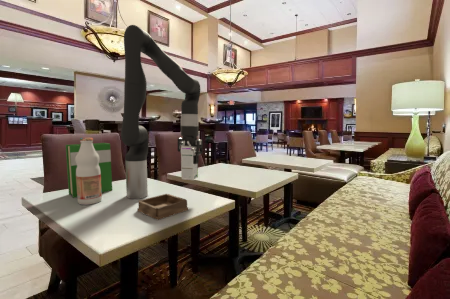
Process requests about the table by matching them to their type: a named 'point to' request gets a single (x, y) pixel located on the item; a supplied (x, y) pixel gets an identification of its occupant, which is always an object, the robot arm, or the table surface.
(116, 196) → the table surface
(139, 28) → the robot arm
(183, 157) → the syrup box
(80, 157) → the fruit juice
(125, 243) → the table surface
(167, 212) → the socket stand
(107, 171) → the hardback book
